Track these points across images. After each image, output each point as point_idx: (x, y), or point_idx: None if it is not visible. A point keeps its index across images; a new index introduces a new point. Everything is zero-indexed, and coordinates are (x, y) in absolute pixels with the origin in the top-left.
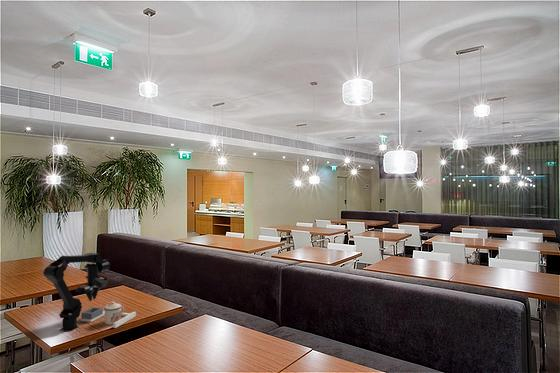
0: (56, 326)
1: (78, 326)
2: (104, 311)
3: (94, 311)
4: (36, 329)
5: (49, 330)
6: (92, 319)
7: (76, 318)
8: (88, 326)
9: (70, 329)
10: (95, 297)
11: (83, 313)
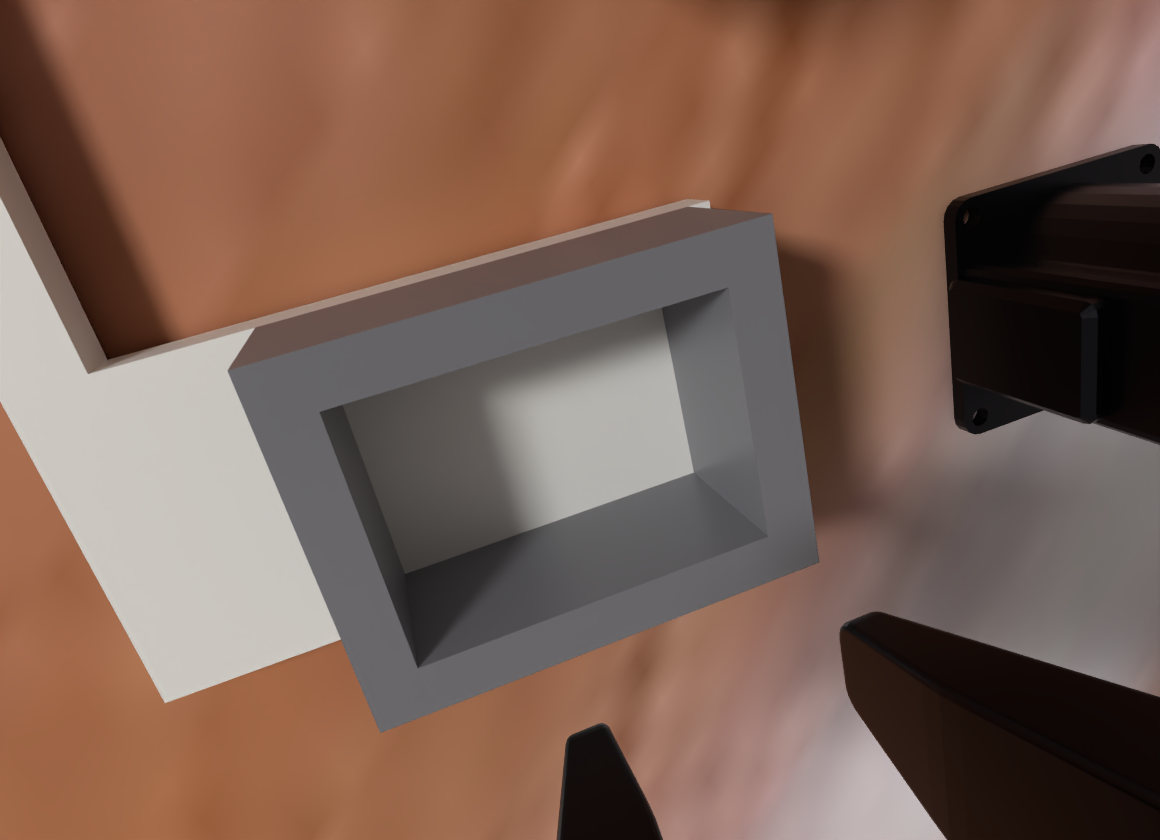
0: (1024, 579)
1: (962, 197)
2: (101, 466)
3: (612, 311)
4: (1156, 688)
5: (1154, 506)
6: (653, 216)
7: (1096, 295)
8: (863, 12)
9: (1125, 176)
10: (606, 796)
11: (799, 491)
